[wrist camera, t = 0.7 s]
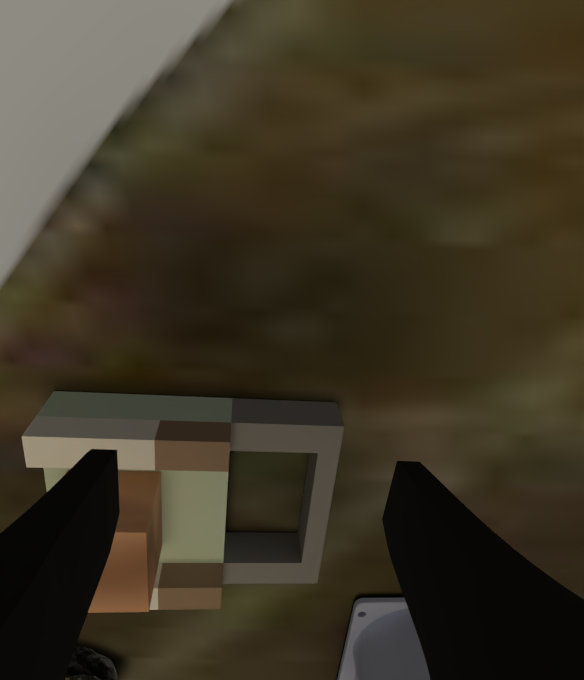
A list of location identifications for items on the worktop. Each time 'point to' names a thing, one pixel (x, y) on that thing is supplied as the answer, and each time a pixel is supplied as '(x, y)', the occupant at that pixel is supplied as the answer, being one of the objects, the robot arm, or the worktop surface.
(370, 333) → the worktop surface
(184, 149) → the worktop surface
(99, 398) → the board
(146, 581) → the block
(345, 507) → the worktop surface
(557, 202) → the worktop surface
